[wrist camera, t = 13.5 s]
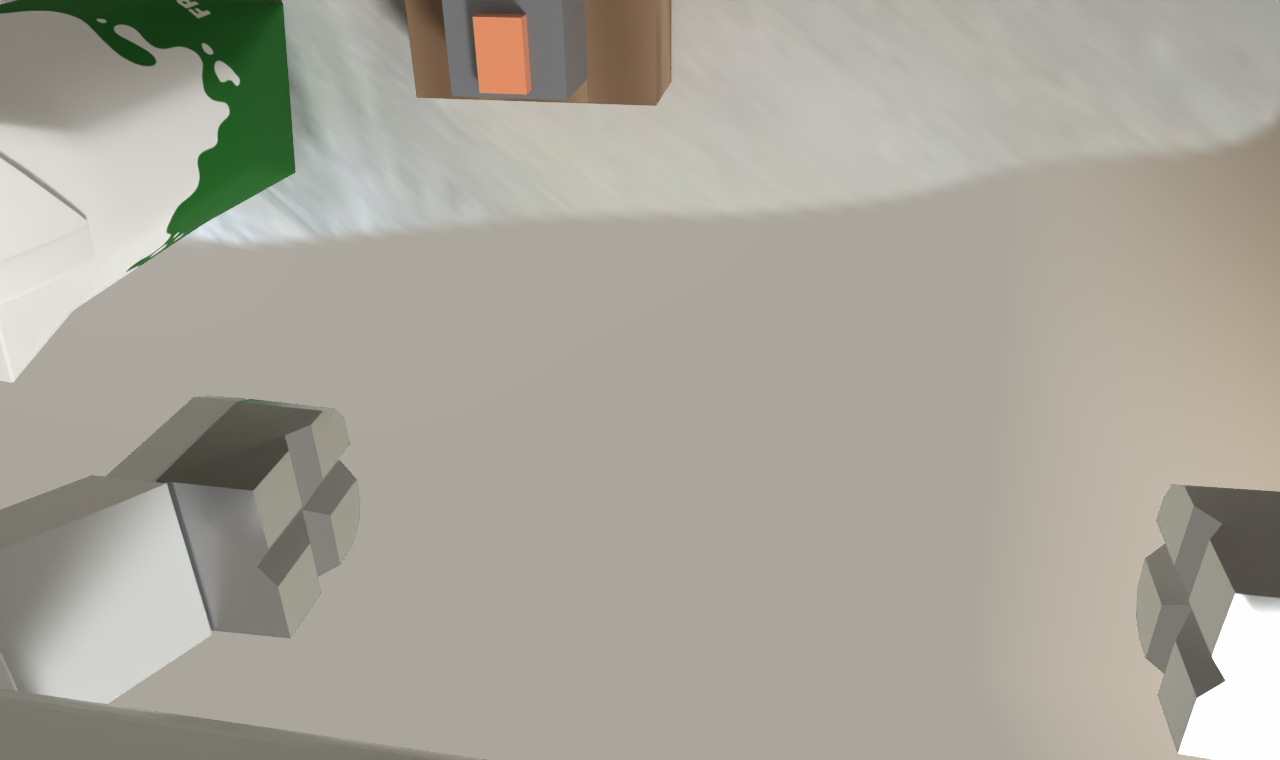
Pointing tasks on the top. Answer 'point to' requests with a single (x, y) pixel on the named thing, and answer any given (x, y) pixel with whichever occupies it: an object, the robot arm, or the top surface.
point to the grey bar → (516, 48)
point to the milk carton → (125, 141)
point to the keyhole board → (615, 44)
